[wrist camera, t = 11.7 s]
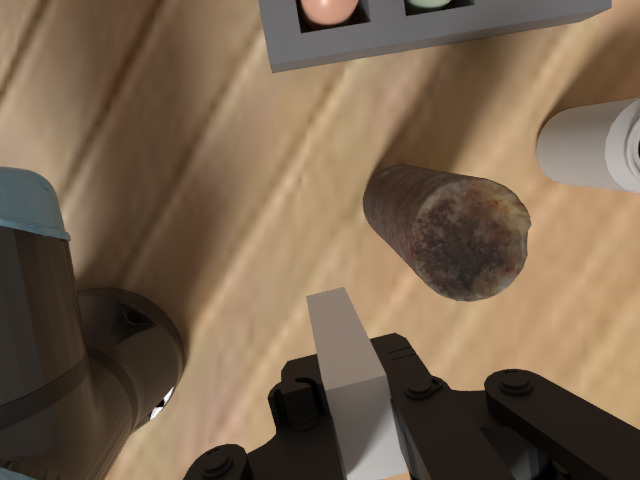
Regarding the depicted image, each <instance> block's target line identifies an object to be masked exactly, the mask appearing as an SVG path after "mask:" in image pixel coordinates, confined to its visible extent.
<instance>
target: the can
mask: <svg viewBox="0 0 640 480" xmlns="http://www.w3.org/2000/svg"><path fill="white" fill-rule="evenodd" d="M536 155H537V159H538V163H539V166H540V168H541V169H542V171H543V172H544V174H545V175H546V176H547V177H549V178H550V179H551V180H553V181H555V182H558V183H562V184H566V185H575V186H583V187H592V188H600V189H609V190H617V191H625V192H634V193H640V97H638V98H631V99H625V100H619V101H613V102H606V103H600V104H594V105H587V106H581V107H575V108H569V109H567V110H564V111H561V112H559V113H557V114H556V115H555V116H554V117H552V118H551V119H550V120H548V122H547V123H546V125H545V126H544V127H543V129H542V130H541V133H540V135H539V138H538V141H537V150H536Z"/></svg>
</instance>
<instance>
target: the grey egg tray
mask: <svg viewBox="0 0 640 480" xmlns="http://www.w3.org/2000/svg"><path fill="white" fill-rule="evenodd" d="M258 1H259V6H260V12H261V17H262V23H263V28H264V34H265V39H266V45H267V50H268V56H269V61H270V66H271V70H272V73H276V72H282V71H288V70H294V69H300V68H306V67H312V66H318V65H324V64H330V63H336V62H342V61H348V60H354V59H360V58H366V57H372V56H378V55H384V54H390V53H396V52H402V51H408V50H414V49H420V48H426V47H432V46H438V45H444V44H450V43H456V42H462V41H468V40H474V39H480V38H486V37H492V36H498V35H504V34H510V33H516V32H522V31H528V30H534V29H540V28H546V27H552V26H558V25H564V24H570V23H577V22H581V21H584V20H586V19H588V18H590V17H592V16H595V15H597V14H599V13H601V12H603V11H606V10H608V9H610V8H612V2H611V0H455V5H456V8H454V9H447V10H441V11H435V12H429V13H423V14H417V15H411V16H406V15H405V6H404V0H358V1H359V8H360V15H361V23H362V24H356V25H350V26H344V27H338V28H332V29H326V30H320V31H313V32H307V33H301V32H300V26H299V20H298V14H297V7H296V1H295V0H258Z"/></svg>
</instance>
